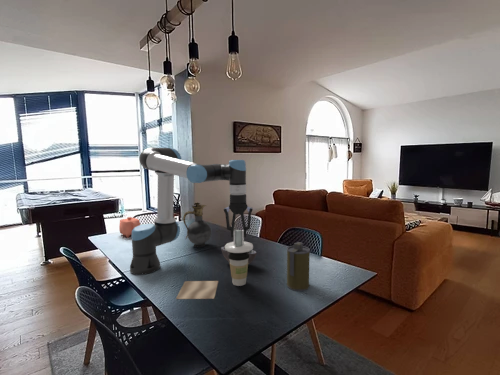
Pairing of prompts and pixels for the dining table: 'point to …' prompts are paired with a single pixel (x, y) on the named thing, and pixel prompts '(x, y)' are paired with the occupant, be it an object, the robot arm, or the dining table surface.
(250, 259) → the planter
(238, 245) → the lid
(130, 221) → the teapot
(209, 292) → the mat
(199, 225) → the pitcher
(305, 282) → the canister
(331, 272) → the dining table surface
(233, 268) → the coffee cup
